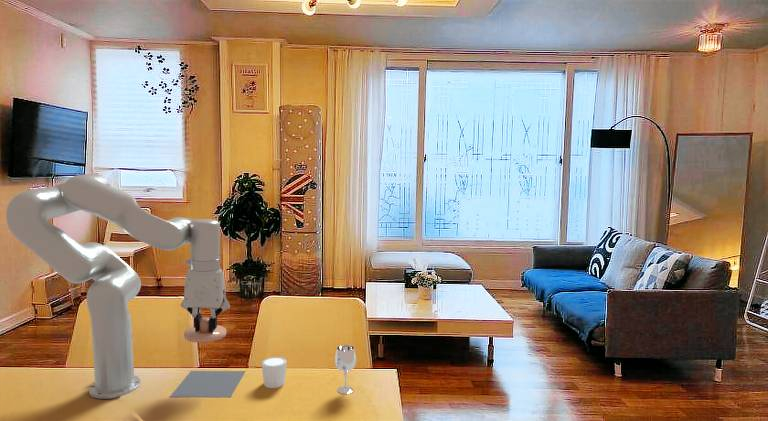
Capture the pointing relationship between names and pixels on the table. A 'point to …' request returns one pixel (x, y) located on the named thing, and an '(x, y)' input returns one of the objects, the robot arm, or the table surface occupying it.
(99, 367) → the robot arm
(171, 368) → the table surface
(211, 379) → the mat
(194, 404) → the table surface
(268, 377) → the white cup
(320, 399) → the table surface
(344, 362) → the wineglass
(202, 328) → the lid
